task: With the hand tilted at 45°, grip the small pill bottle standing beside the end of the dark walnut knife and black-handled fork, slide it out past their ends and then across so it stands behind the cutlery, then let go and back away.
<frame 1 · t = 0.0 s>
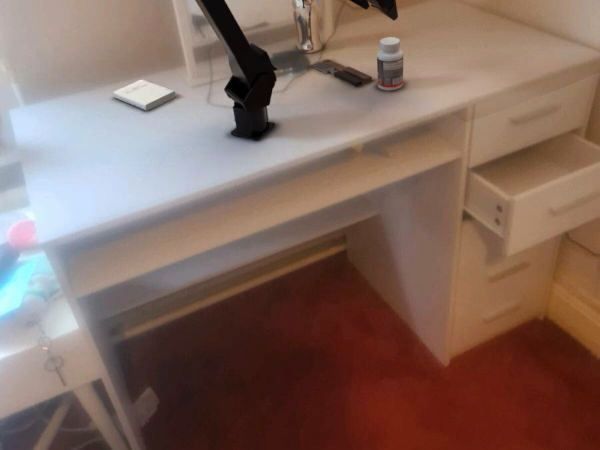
hand: (381, 13, 119), 15 cm above the table, tool tilted 35°, fingers open, 9 cm apart
pill bottle: (390, 86, 127), on the table
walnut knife: (345, 71, 135), on the table
hard drive: (145, 98, 134), on the table
beer glass: (309, 49, 148), on the table
black-handled fork: (336, 75, 134), on the table
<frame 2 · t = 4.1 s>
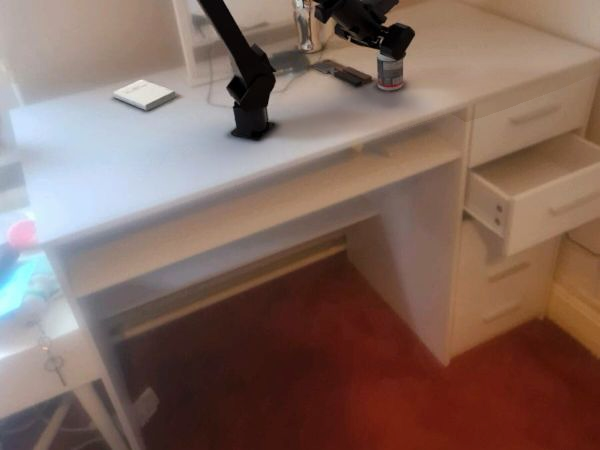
hand: (395, 52, 123), 7 cm above the table, tool tilted 45°, fingers closed on pill bottle, 5 cm apart
pill bottle: (390, 86, 127), on the table, touching gripper
everything else where it was.
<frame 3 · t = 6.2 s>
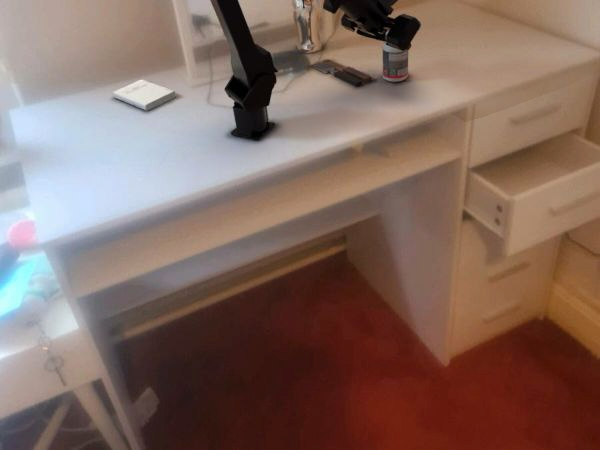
hand: (400, 44, 126), 7 cm above the table, tool tilted 45°, fingers closed on pill bottle, 5 cm apart
pill bottle: (395, 78, 130), on the table, touching gripper
everything else where it was.
when the fingers open (7 cm above the table, at t = 8.5 s): pill bottle stays where it is, on the table.
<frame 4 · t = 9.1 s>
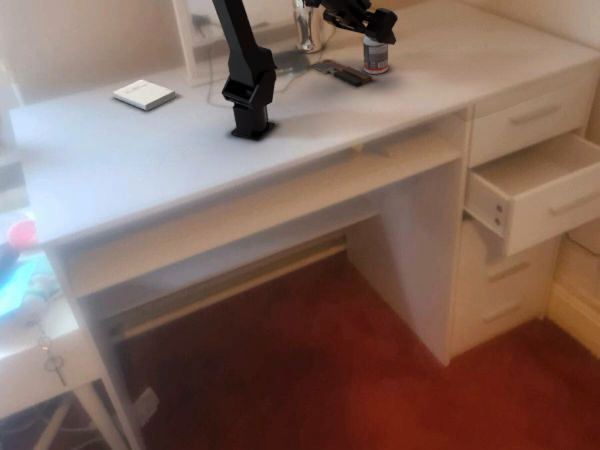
hand: (380, 37, 131), 7 cm above the table, tool tilted 45°, fingers open, 9 cm apart
pill bottle: (376, 70, 134), on the table
everything else where it was.
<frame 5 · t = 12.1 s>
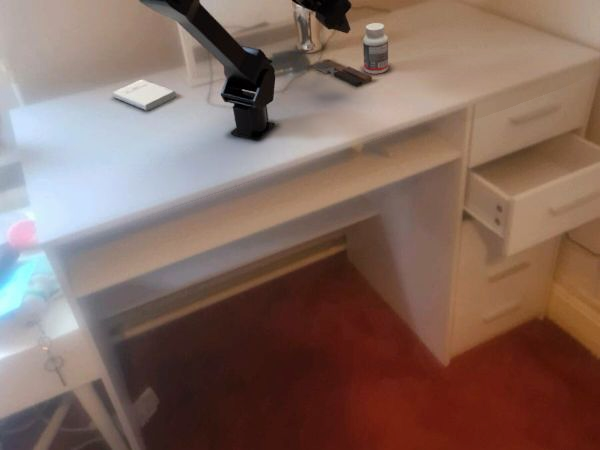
hand: (336, 22, 124), 13 cm above the table, tool tilted 40°, fingers open, 9 cm apart
nothing on the table moved.
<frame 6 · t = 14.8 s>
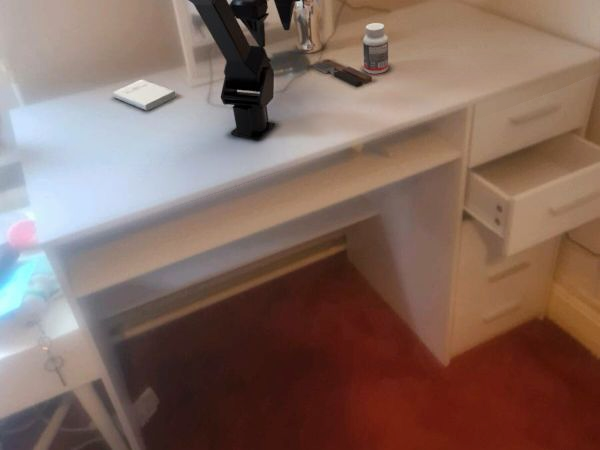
hand: (274, 38, 119), 13 cm above the table, tool pointing down, fingers open, 9 cm apart
nothing on the table moved.
at the end: pill bottle 0.3 cm from the target spot, on the table; pill bottle tilted 0°; the gripper is holding nothing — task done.
